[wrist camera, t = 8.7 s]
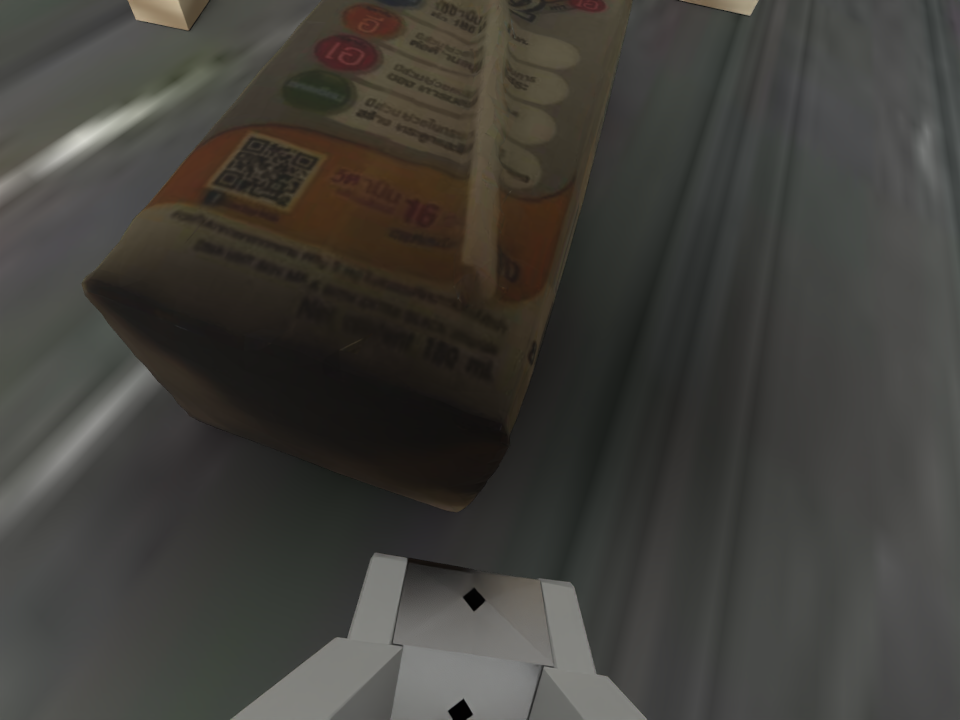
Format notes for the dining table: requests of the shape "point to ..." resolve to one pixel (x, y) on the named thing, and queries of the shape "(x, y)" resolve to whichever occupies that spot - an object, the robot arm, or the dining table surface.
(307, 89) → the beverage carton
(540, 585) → the robot arm
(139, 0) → the oak fence
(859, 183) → the dining table surface
